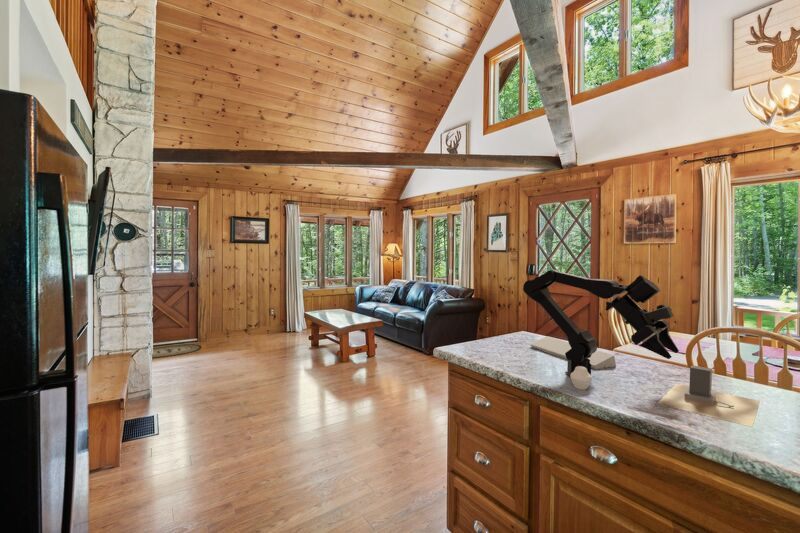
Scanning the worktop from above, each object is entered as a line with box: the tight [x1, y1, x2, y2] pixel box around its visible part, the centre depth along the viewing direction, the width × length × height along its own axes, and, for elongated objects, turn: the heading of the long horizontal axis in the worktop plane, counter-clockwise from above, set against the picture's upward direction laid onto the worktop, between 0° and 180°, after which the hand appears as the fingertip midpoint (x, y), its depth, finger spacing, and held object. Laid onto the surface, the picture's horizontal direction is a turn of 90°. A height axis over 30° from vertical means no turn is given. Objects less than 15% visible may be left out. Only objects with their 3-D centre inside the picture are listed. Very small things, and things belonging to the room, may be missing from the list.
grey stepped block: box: [684, 364, 716, 406], centre depth 105 cm, size 6×6×9 cm
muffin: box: [569, 366, 593, 391], centre depth 119 cm, size 6×6×7 cm
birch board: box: [657, 383, 760, 428], centre depth 104 cm, size 20×24×2 cm
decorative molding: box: [529, 335, 617, 370], centre depth 155 cm, size 34×5×10 cm
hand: (674, 355), depth 110 cm, fingers open, 9 cm apart
